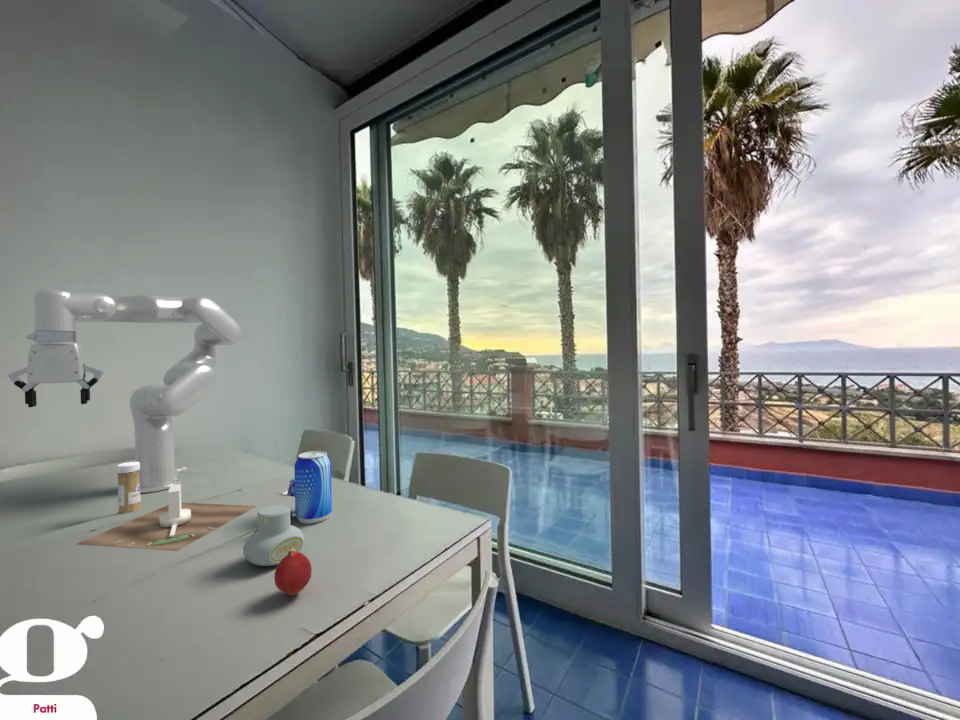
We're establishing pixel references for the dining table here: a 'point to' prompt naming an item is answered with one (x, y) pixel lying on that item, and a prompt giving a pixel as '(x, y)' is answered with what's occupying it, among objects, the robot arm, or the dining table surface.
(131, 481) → the sprinkles bottle
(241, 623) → the dining table surface
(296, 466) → the beer can
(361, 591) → the dining table surface
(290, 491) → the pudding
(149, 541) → the dial board
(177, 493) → the tuning knob
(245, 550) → the air freshener
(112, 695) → the dining table surface
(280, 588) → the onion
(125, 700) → the dining table surface
